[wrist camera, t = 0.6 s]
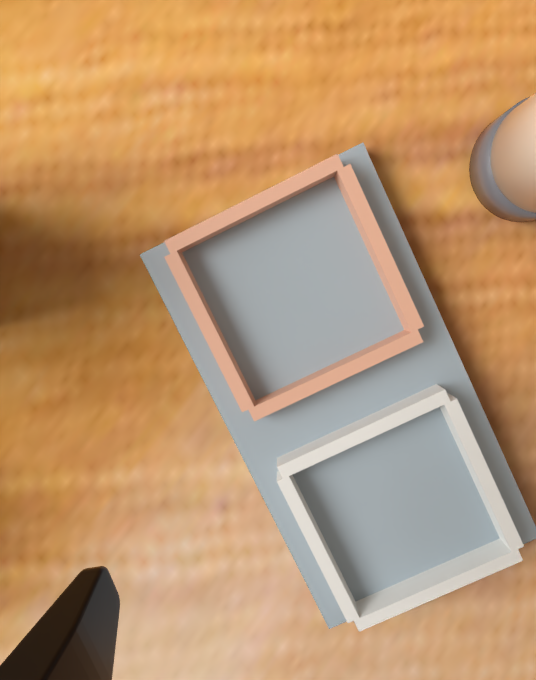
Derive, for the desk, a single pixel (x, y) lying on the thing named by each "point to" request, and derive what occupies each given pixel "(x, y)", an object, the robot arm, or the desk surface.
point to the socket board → (344, 392)
